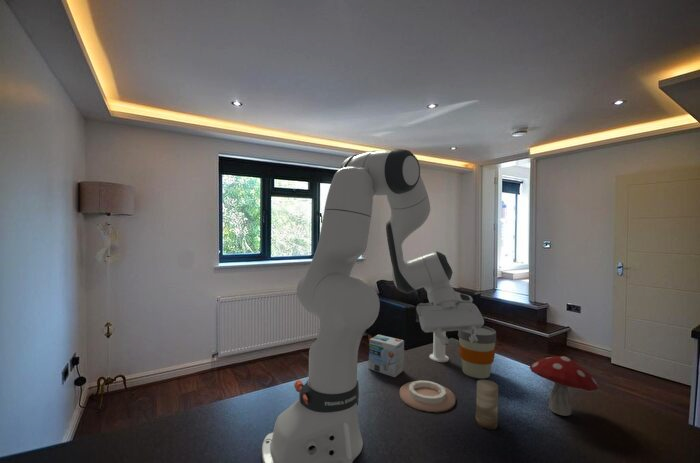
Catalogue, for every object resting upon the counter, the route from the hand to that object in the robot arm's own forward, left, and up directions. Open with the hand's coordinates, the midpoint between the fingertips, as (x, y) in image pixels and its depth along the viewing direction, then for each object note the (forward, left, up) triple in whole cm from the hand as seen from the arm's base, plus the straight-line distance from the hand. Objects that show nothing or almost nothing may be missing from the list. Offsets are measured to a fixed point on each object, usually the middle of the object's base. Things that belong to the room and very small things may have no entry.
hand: (460, 343), depth 94 cm
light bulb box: (-12, +24, -16) cm, 31 cm away
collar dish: (-9, +4, -16) cm, 19 cm away
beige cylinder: (-2, -12, -16) cm, 20 cm away
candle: (+12, +26, -16) cm, 33 cm away
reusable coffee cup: (+17, +12, -16) cm, 27 cm away
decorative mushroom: (+22, -15, -16) cm, 32 cm away
